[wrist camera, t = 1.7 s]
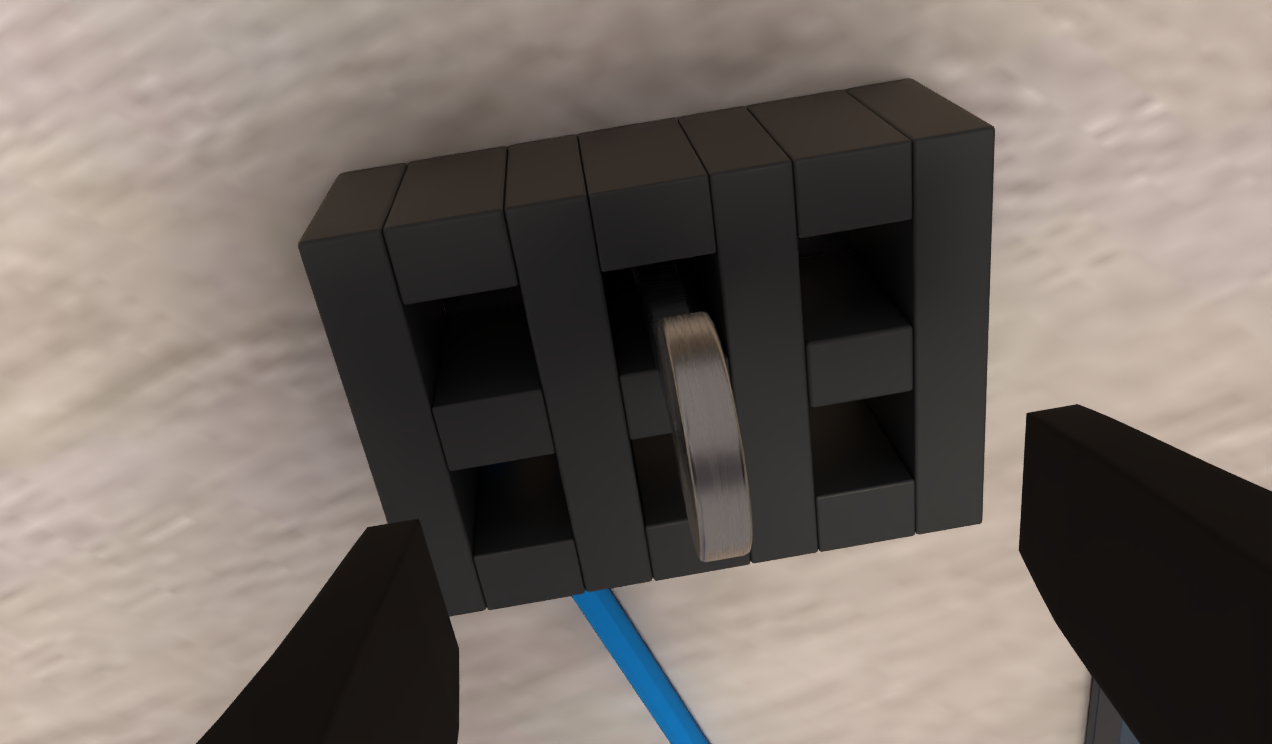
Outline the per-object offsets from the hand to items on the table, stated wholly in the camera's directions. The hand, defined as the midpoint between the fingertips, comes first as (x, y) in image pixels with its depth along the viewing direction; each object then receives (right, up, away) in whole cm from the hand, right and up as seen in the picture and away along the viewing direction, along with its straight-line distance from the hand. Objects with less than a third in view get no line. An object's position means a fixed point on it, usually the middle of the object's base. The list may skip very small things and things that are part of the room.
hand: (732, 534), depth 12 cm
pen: (-1, -5, +15) cm, 16 cm away
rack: (-1, +3, +10) cm, 10 cm away
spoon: (-1, +5, +9) cm, 10 cm away
